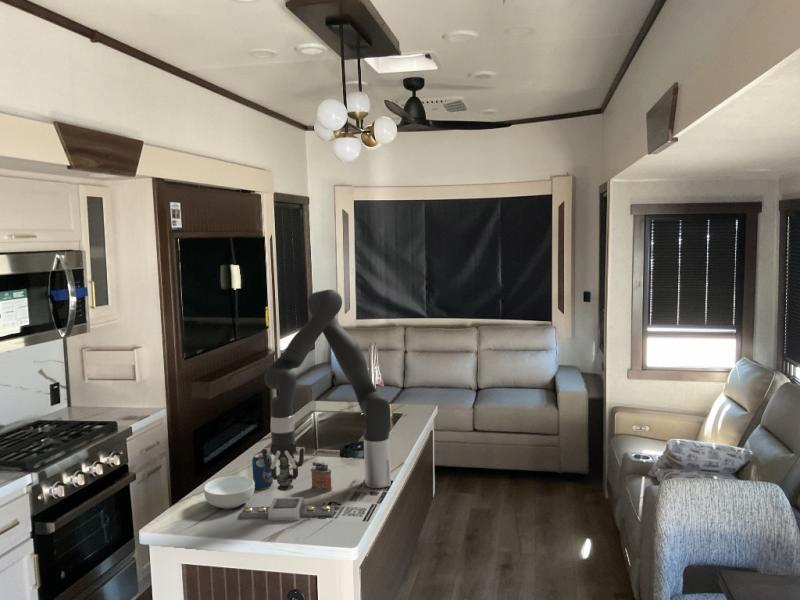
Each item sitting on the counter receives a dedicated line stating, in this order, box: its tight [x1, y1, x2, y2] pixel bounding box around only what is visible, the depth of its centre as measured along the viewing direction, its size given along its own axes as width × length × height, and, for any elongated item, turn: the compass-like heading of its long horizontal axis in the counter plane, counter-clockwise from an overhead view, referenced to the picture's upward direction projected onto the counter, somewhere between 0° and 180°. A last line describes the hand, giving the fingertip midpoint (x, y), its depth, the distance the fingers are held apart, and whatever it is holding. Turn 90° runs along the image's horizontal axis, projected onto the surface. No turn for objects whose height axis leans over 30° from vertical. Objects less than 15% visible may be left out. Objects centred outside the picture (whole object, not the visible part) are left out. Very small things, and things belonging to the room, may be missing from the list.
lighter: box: [310, 461, 333, 493], centre depth 236 cm, size 8×3×10 cm, turn 65°
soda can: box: [251, 451, 274, 490], centre depth 240 cm, size 7×7×12 cm
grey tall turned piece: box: [275, 457, 294, 492], centre depth 215 cm, size 6×6×12 cm
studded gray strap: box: [240, 496, 336, 522], centre depth 217 cm, size 30×10×4 cm, turn 89°
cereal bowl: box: [203, 475, 256, 510], centre depth 226 cm, size 17×17×7 cm
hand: (284, 478), depth 216 cm, fingers closed on grey tall turned piece, 6 cm apart
